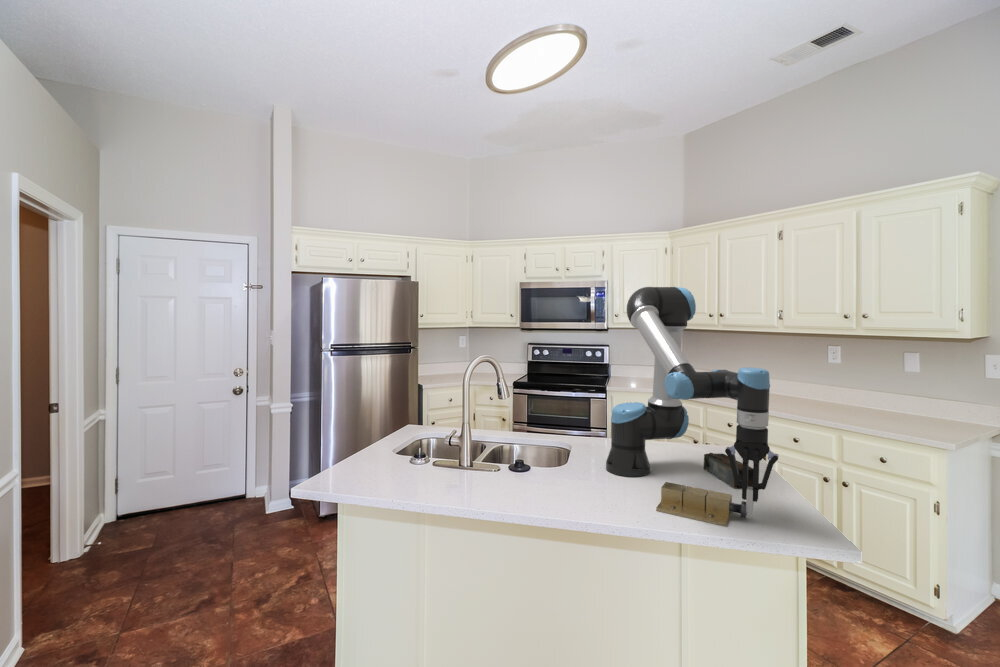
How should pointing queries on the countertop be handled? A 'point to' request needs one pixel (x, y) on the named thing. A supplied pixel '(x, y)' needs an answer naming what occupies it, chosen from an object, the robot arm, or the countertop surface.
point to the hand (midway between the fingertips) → (749, 511)
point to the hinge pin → (739, 508)
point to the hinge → (695, 503)
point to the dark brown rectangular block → (725, 469)
